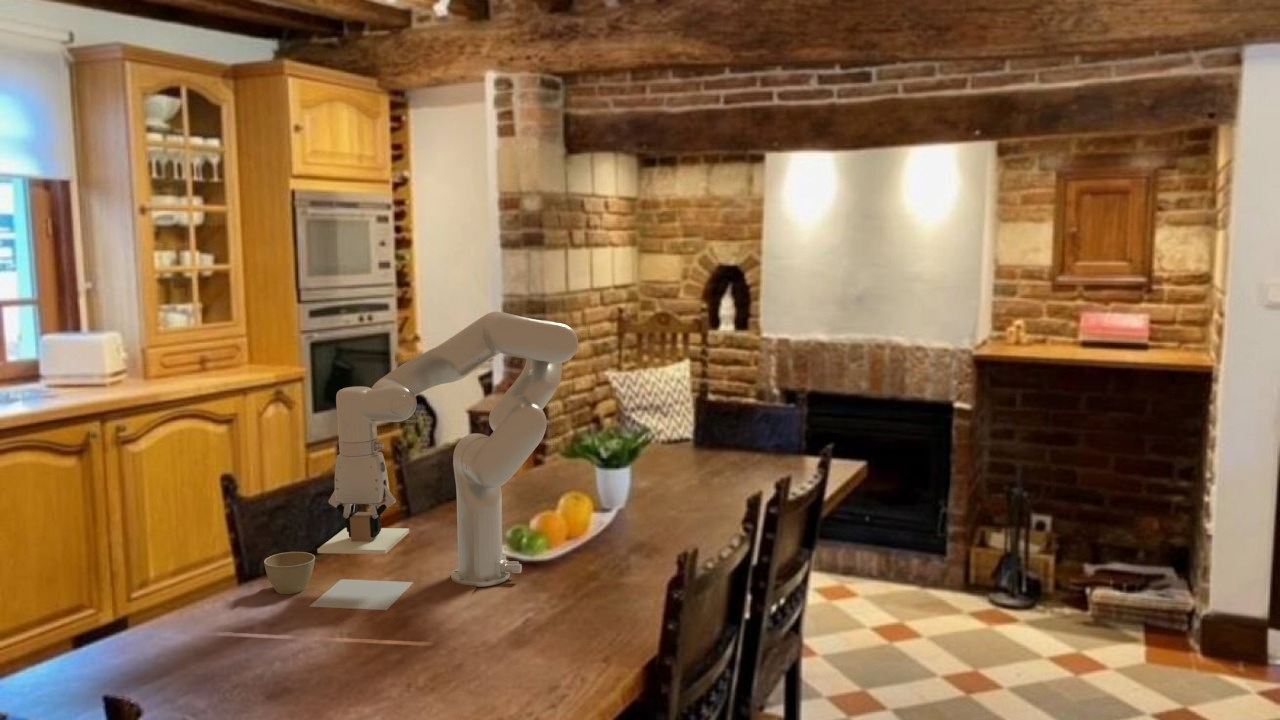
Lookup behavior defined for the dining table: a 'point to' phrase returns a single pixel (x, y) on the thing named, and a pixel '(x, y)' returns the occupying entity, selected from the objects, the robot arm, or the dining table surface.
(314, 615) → the dining table surface
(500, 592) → the dining table surface
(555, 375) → the robot arm
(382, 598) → the mat
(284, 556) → the flower pot
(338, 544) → the lid
